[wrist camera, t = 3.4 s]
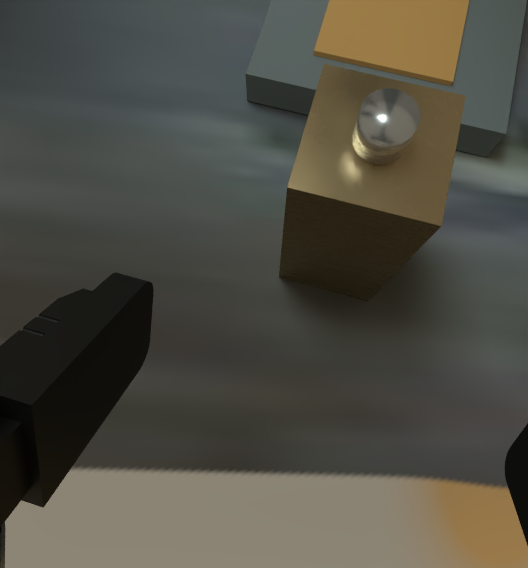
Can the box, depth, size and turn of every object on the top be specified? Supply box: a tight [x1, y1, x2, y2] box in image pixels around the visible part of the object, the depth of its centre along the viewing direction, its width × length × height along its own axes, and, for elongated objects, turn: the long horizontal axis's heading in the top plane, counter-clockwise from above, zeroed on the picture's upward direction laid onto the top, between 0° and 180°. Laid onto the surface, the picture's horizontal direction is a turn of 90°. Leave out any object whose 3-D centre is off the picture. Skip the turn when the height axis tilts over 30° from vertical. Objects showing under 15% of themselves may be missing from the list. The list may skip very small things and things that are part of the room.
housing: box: [279, 64, 466, 301], centre depth 16 cm, size 4×4×10 cm
